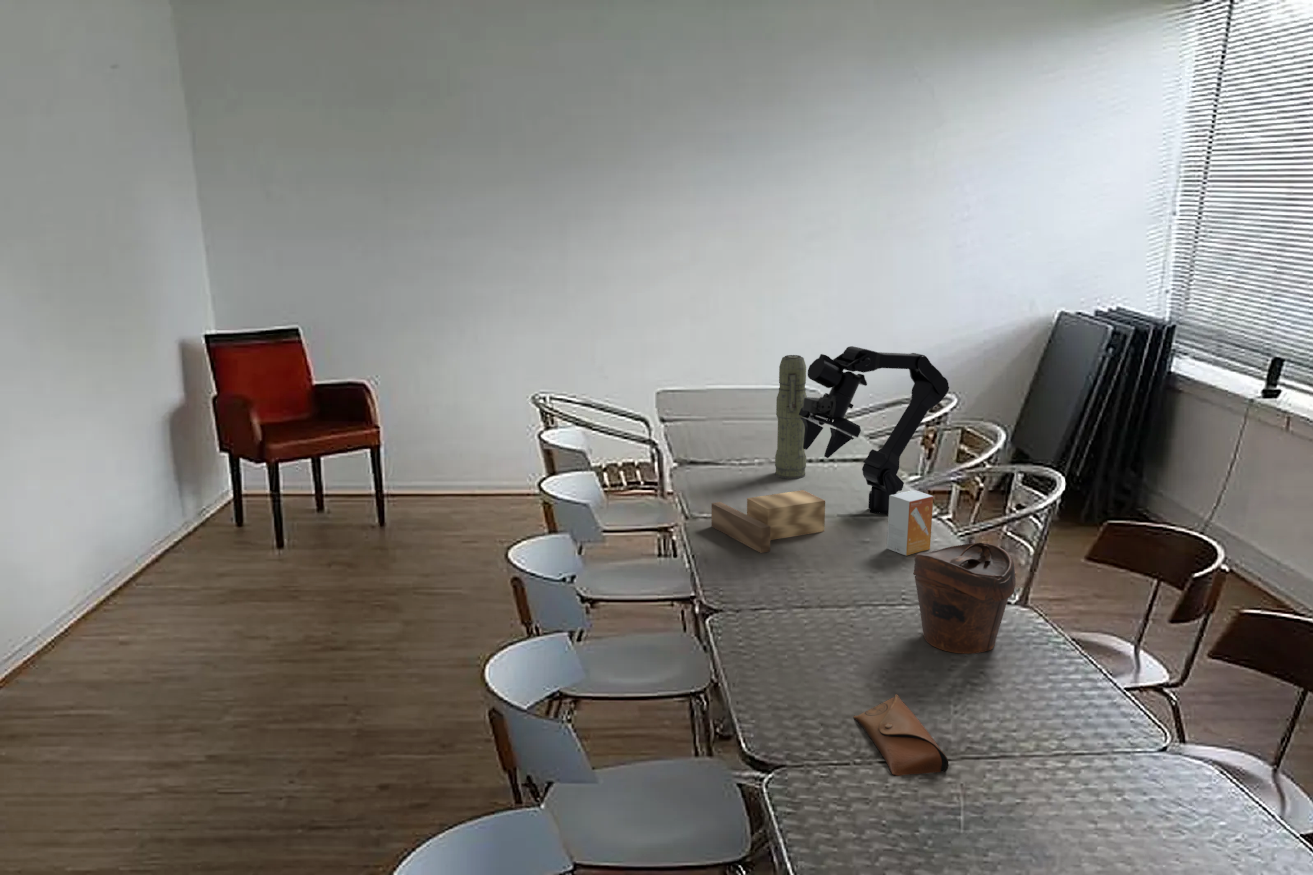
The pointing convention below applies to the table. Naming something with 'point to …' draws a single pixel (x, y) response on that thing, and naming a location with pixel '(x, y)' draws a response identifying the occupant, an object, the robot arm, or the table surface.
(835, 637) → the table surface
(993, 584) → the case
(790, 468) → the thermos
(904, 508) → the small box
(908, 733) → the sunglasses case
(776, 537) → the oak block
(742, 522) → the walnut board
